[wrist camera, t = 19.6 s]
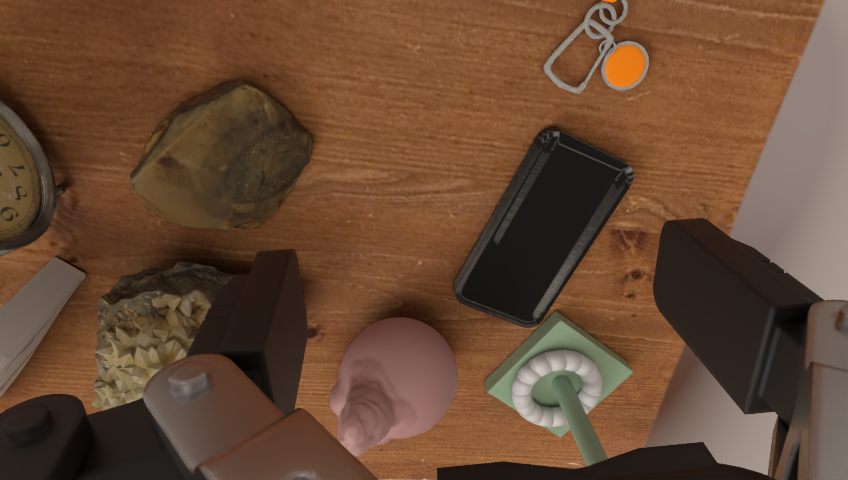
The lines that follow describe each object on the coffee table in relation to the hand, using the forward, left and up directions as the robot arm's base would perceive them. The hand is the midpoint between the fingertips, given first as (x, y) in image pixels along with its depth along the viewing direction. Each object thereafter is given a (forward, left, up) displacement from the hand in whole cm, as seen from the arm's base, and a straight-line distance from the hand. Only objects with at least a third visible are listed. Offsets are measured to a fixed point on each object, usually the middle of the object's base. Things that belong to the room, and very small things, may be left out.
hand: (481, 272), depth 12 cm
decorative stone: (+12, -6, -28) cm, 31 cm away
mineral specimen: (+25, 0, -28) cm, 38 cm away
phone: (+3, +15, -28) cm, 32 cm away
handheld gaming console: (+34, -11, -28) cm, 46 cm away
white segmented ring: (+12, +26, -26) cm, 38 cm away
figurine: (+19, +13, -28) cm, 36 cm away
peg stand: (+12, +26, -28) cm, 40 cm away
